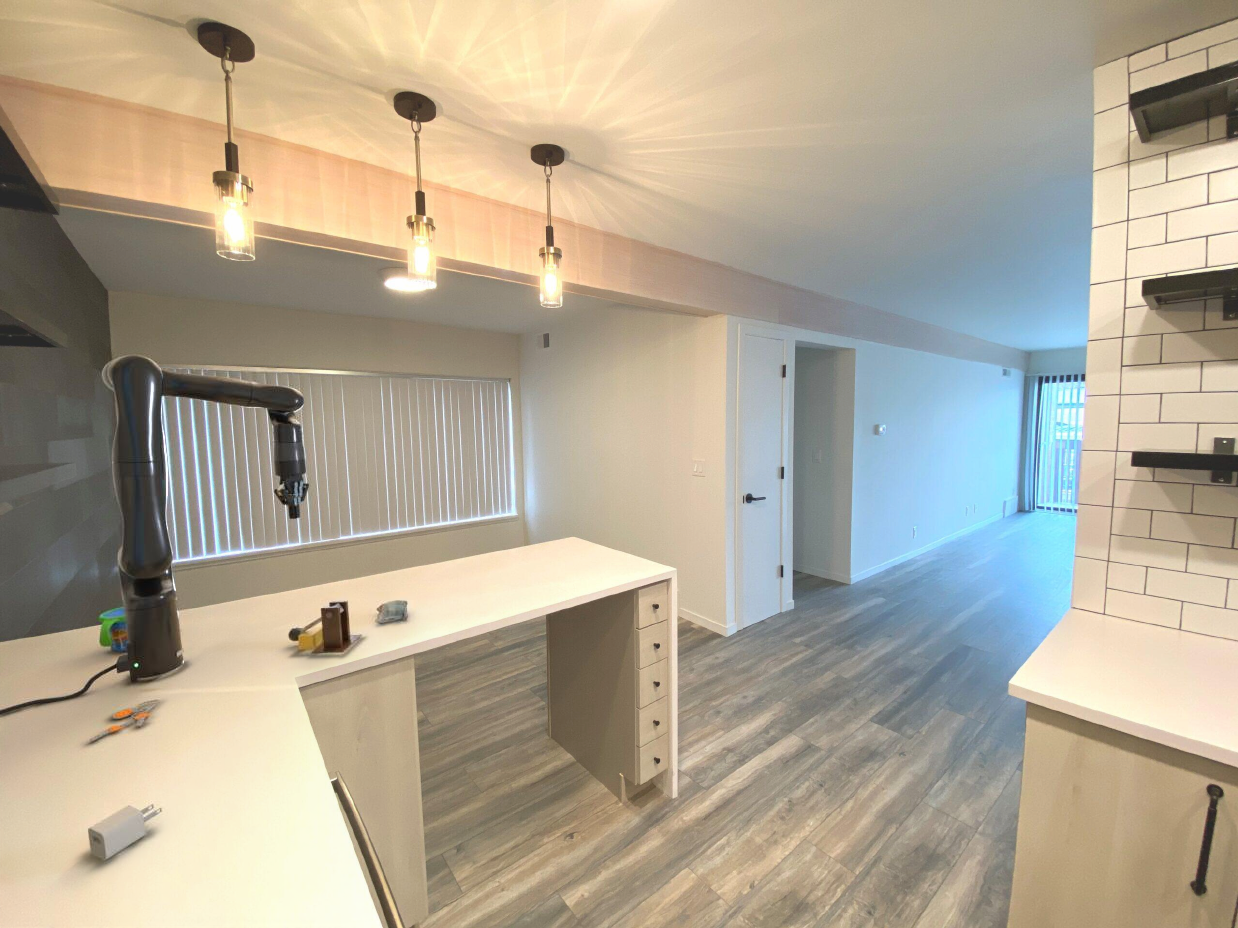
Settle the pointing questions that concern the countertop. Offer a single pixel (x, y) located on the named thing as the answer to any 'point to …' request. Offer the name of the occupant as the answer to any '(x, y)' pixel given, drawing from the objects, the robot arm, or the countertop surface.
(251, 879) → the countertop surface
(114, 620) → the snack cup
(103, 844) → the usb wall charger
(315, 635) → the butter
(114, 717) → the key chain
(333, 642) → the brown lever base bracket
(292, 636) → the ball-knob lever
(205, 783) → the countertop surface
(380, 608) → the packaged food
